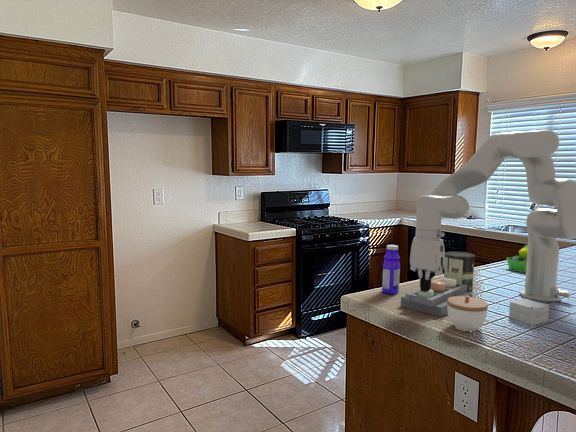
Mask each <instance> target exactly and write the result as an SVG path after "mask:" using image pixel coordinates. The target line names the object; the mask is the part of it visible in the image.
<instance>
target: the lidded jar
mask: <svg viewBox="0 0 576 432" xmlns="http://www.w3.org/2000/svg"><path fill="white" fill-rule="evenodd" d="M488 307H489V304H488V303H487V302H486V301H485V300H482V299H480V298H477V297H473V296H472V297H469V296H454V297H450V298H448V299H447V313H448V314H447V317H448V320H449V322H450V323H451V324H452V325H453V327H454V326H455V327H456V328H457V329H456V328H455V327H454V328H455V329H456V330H458V329H460V330H459V331H461V330H464V331H463V332H466V331H474V332H476V330H477V331H478V329H480V328H481V327H482V326H483V325H484V323H485V322H486V318H487V313H488Z"/></svg>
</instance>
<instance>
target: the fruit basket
mask: <svg viewBox="0 0 576 432" xmlns="http://www.w3.org/2000/svg"><path fill="white" fill-rule="evenodd" d="M527 252H528V244H525V245H524V246H523V247H522V248H521V249H519V250H518V255H515V256H511V257H510V256H508V257H506V259H505V260H506V261H507V265H508V269H509V270H512V269H513V270H514V271H516V270H518V271H517V272H520V271H522V272H521V273H525V272H526V265H527Z"/></svg>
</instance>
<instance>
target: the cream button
mask: <svg viewBox="0 0 576 432" xmlns="http://www.w3.org/2000/svg"><path fill="white" fill-rule="evenodd" d="M440 281H441V282H444V283H446V287H448V288H455V287H456V281H457V279H455V278H452V277H444V276H442V277H441V278H440Z"/></svg>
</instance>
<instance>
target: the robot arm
mask: <svg viewBox="0 0 576 432" xmlns="http://www.w3.org/2000/svg"><path fill="white" fill-rule="evenodd" d="M559 145H560V137H559V136H558V134H557V133H556V132H555V131H553V130H551V129H540V130H538V129H537V130H526V131H510V132H509V131H508V132H507V131H506V132H498V133H497V132H496V133H493V134H491V135H489V136H488V137H487V138H485V140H484V142H483V143H482V144H480V145H479V147H478V148H477V150H476V151H475V153H474V154H473V155H472V156H471V157H470V158H469V160H468V161H467V162H466V163H465V164H464V166H462V167H460V168H459V169H457V170H456V171H454V172H452V174H450V175H448V176H447V177H445V178H444V179H443V180H442V181H441V182H440V183H439V184H438V185H437V186H436V187H435V188H434V190H433V191H432V192H431V194H422V195H419V196H418V197H417V200H416V215H415V217H416V219H415V220H416V221H415V236H414V237H413V239H412V242H411V246H410V255H409V264H410V267H409V269H410V270H411V271H413V272H414V273H416V274H417V276H418V278H419V289H420V291H424V292H427V291H429V290H430V288H431V281H432V279H433V278H434V277H436V276H437V277H438V276H440V277H441V276H442V275H443V276H444V272H443V270H444V269H445V253H446V252H445V243H444V239H441V238H444V237H445V235H446V234H445V232H443V231H442V218H445V219H453V220H457V219H462V218H463V217H465V216H466V215H467V214H468V212H469V210H470V204H469V202H468V200H467V199H466V198H465V197H463V195H462V196H461V195H458V194H460V193H462V192H464V191H466V190H468V189H471V188H474V187H478V186H479V185H481V184H485V183H486V182H488V181H489V180H490V178H491V177H492V176H493V175H494V173H495V172H496V171H497V169H499V167H500V166H501V165H502V163H503V162H504V161H505V160H519V161H520V162H521V163H522V164H523V167H524V169H525V170H524V171H525V173H526V174H525V175H526V176H525V177H526V187H527V193H528V198H529V201H530V202H531V203H532V204H534V205H538V206H545V207H552V208H544V207H542V208H541V207H539V208H535V209H532V211H530V212H529V213H528V215H527V217H526V222H525V223H526V225H525V226H526V231H527V240H528V241H527V245H528V252H527V265H526V273H525V281H524V288H522V289H520V290H519V296H521V297H523V298H525V299H528V300H532V301H536V302H544V303H545V302H546V303H547V302H549V303H551V302H559V301H561V297H563V298H567V299H569V298H570V297H571V292H569V291H568V290H562V289H561V288H560V286H559V285H557V279H558V268H559V258H560V257H559V256H560V245H559V243H558V241H557V239H561V240H568V241H569V240H570V241H571V240H575V239H576V181H574V180H572V179H569V178H557V176H556V169H555V164H554V160H553V158H552V155H553V154H554V153H556V152H557V150H558V148H559V147H560V146H559ZM553 207H554V208H555V209H554V208H553Z"/></svg>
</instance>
